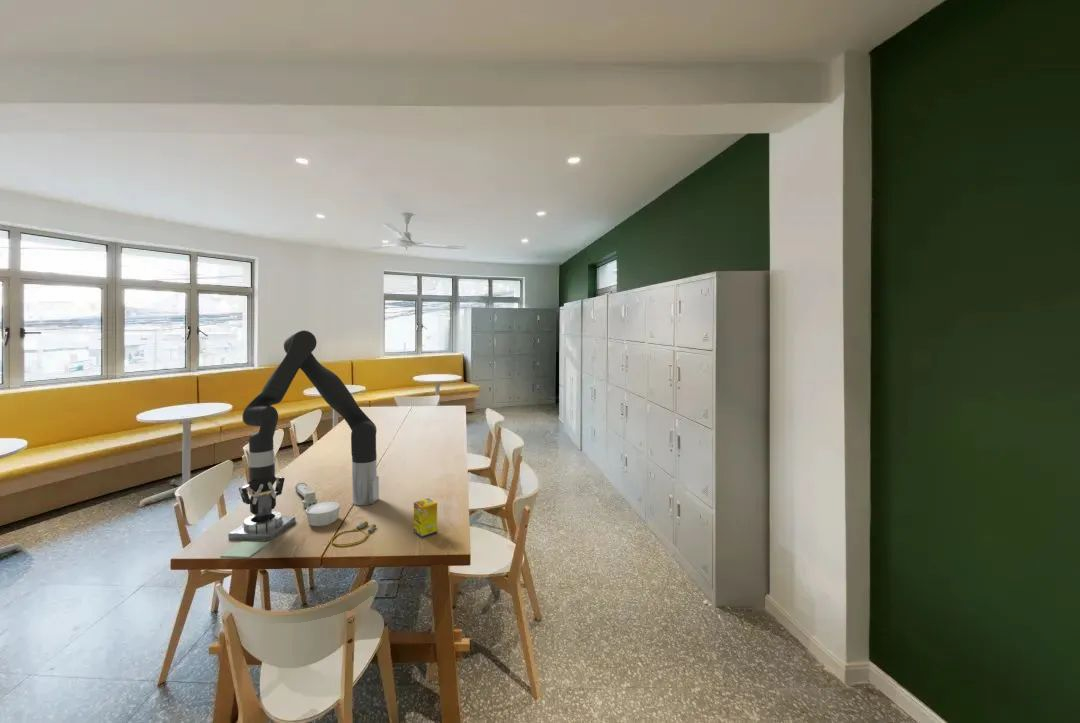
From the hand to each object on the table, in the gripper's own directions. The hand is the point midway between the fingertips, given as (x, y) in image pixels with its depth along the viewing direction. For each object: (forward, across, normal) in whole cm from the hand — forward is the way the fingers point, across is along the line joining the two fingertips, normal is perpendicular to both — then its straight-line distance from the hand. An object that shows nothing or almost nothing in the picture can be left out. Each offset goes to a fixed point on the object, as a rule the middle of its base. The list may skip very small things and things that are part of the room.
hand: (263, 510), depth 148 cm
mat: (+7, +10, +10) cm, 15 cm away
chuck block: (+7, 0, 0) cm, 7 cm away
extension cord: (+8, -15, +30) cm, 34 cm away
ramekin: (+7, -16, +10) cm, 20 cm away
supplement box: (+7, -29, +48) cm, 57 cm away
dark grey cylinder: (+4, 0, 0) cm, 4 cm away
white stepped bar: (+7, -23, -16) cm, 29 cm away
